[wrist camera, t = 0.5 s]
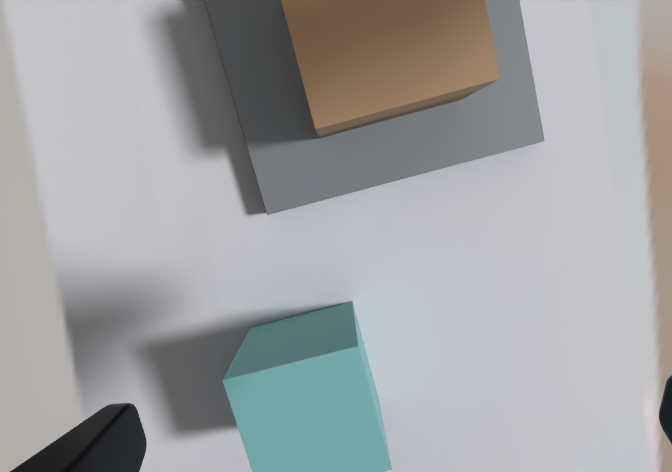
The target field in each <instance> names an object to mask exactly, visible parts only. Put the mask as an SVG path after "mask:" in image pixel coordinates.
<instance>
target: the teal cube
mask: <svg viewBox="0 0 672 472" xmlns="http://www.w3.org/2000/svg"><path fill="white" fill-rule="evenodd" d="M222 381H223V384H224V387H225V390H226V393H227V396H228V399H229V402H230V405H231V408H232V411H233V414H234V417H235V420H236V423H237V426H238V429H239V432H240V435H241V438H242V441H243V444H244V447H245V450H246V453H247V456H248V459H249V462H250V465H251V468H252V471H253V472H383V471H387V470H391V469H392V467H391V462H390V456H389V451H388V446H387V441H386V435H385V430H384V425H383V420H382V414H381V409H380V404H379V399H378V394H377V391H376V387H375V383H374V380H373V376H372V372H371V368H370V365H369V361H368V357H367V354H366V350H365V346H364V342H363V339H362V335H361V331H360V328H359V324H358V320H357V317H356V313H355V309H354V305H353V302H348V303H344V304H340V305H337V306H333V307H329V308H325V309H321V310H317V311H313V312H309V313H305V314H301V315H298V316H294V317H290V318H286V319H282V320H278V321H274V322H270V323H266V324H262V325H259V326H255V327H251V328H250V329H249V331H248V333H247V334H246V336H245V338H244V340H243V342H242V344H241V346H240V348H239V350H238V351H237V353H236V355H235V357H234V359H233V361H232V363H231V365H230V366H229V368H228V370H227V372H226V374H225V376H224V378H223V380H222Z"/></svg>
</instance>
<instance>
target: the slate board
mask: <svg viewBox="0 0 672 472" xmlns="http://www.w3.org/2000/svg"><path fill="white" fill-rule="evenodd" d="M204 1H205V5H206V8H207V11H208V15H209V18H210V22H211V25H212V28H213V32H214V35H215V38H216V42H217V45H218V49H219V52H220V55H221V59H222V62H223V66H224V69H225V72H226V76H227V79H228V83H229V86H230V89H231V93H232V96H233V100H234V103H235V106H236V110H237V113H238V117H239V120H240V123H241V127H242V130H243V134H244V137H245V140H246V144H247V147H248V151H249V154H250V157H251V161H252V164H253V168H254V171H255V174H256V178H257V181H258V185H259V188H260V191H261V195H262V198H263V202H264V205H265V208H266V212H267V215H269V214H273V213H277V212H280V211H284V210H288V209H292V208H295V207H299V206H303V205H307V204H310V203H314V202H318V201H322V200H325V199H329V198H333V197H337V196H340V195H344V194H348V193H352V192H355V191H359V190H363V189H367V188H370V187H374V186H378V185H382V184H385V183H389V182H393V181H397V180H400V179H404V178H408V177H412V176H415V175H419V174H423V173H427V172H430V171H434V170H438V169H442V168H445V167H449V166H453V165H456V164H460V163H464V162H468V161H471V160H475V159H479V158H483V157H486V156H490V155H494V154H498V153H501V152H505V151H509V150H513V149H516V148H520V147H524V146H528V145H531V144H535V143H539V142H543V141H544V135H543V130H542V124H541V119H540V113H539V108H538V102H537V96H536V91H535V85H534V80H533V74H532V69H531V63H530V57H529V52H528V46H527V41H526V35H525V30H524V24H523V19H522V13H521V7H520V2H519V0H485V3H486V8H487V13H488V19H489V24H490V29H491V34H492V39H493V45H494V50H495V55H496V60H497V65H498V71H499V76H500V79H499V80H497V81H495V82H493V83H491V84H490V85H488V86H486V87H484V88H482V89H480V90H479V91H477V92H475V93H473V94H471V95H469V96H467V97H466V98H464V99H462V100H459V101H455V102H452V103H448V104H444V105H441V106H437V107H433V108H430V109H426V110H422V111H419V112H415V113H411V114H408V115H404V116H400V117H397V118H393V119H389V120H385V121H382V122H378V123H374V124H371V125H367V126H363V127H360V128H356V129H352V130H349V131H345V132H341V133H338V134H334V135H330V136H327V137H323V138H319V136H318V134H317V132H316V129H315V126H314V122H313V118H312V115H311V111H310V107H309V103H308V99H307V96H306V92H305V88H304V84H303V81H302V77H301V73H300V69H299V66H298V62H297V58H296V54H295V51H294V47H293V43H292V39H291V36H290V32H289V28H288V24H287V21H286V17H285V13H284V9H283V6H282V2H281V0H204Z"/></svg>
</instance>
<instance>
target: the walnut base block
mask: <svg viewBox="0 0 672 472" xmlns="http://www.w3.org/2000/svg"><path fill="white" fill-rule="evenodd" d="M281 2H282V6H283V9H284V13H285V17H286V21H287V24H288V28H289V32H290V36H291V39H292V43H293V47H294V51H295V54H296V58H297V62H298V66H299V69H300V73H301V77H302V81H303V84H304V88H305V92H306V96H307V99H308V103H309V107H310V111H311V115H312V118H313V122H314V126H315V129H316V132H317V134H318V136H319V138H323V137H327V136H330V135H334V134H338V133H341V132H345V131H349V130H352V129H356V128H360V127H363V126H367V125H371V124H374V123H378V122H382V121H385V120H389V119H393V118H397V117H400V116H404V115H408V114H411V113H415V112H419V111H422V110H426V109H430V108H433V107H437V106H441V105H444V104H448V103H452V102H455V101H459V100H462V99H464V98H466V97H467V96H469V95H471V94H473V93H475V92H477V91H479V90H480V89H482V88H484V87H486V86H488V85H490V84H491V83H493V82H495V81H497V80H499V79H500V76H499V71H498V65H497V60H496V55H495V50H494V45H493V39H492V34H491V29H490V24H489V19H488V13H487V8H486V3H485V0H281Z"/></svg>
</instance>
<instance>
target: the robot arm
mask: <svg viewBox="0 0 672 472" xmlns="http://www.w3.org/2000/svg"><path fill="white" fill-rule="evenodd" d="M659 420H660V424H661V426H662V429H663V431H664V432H665V434H666V435H667V437H668V439H669V440H670V442H671V444H672V376H670V377H669V378H668V380H667V382H666V385H665V390H664V394H663V398H662V402H661V406H660V410H659ZM145 452H146V437H145V433H144V430H143V427H142V424H141V421H140V418H139V414H138V411H137V409H136V407H135V406H134V405H133V404H130V403H122V404H110V405H107V406H106V407H104V408H102V409H101V410H100V411H98V412H97V413H95V414H94V415H92V416H91V417H89V418H88V419H86V420H85V421H83V422H82V423H81V424H79V425H78V426H76V427H75V428H73V429H72V430H70V431H69V432H67V433H66V434H65V435H63V436H62V437H60V438H59V439H57V440H56V441H54V442H53V443H51V444H50V445H48V446H47V447H46V448H44V449H43V450H41V451H40V452H38V453H37V454H35V455H34V456H32V457H31V458H29V459H28V460H27V461H25V462H24V463H22V464H21V465H19V466H18V467H16V468H15V469H13V470H12V471H10V472H139V471H140V468H141V465H142V462H143V459H144V456H145Z"/></svg>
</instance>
